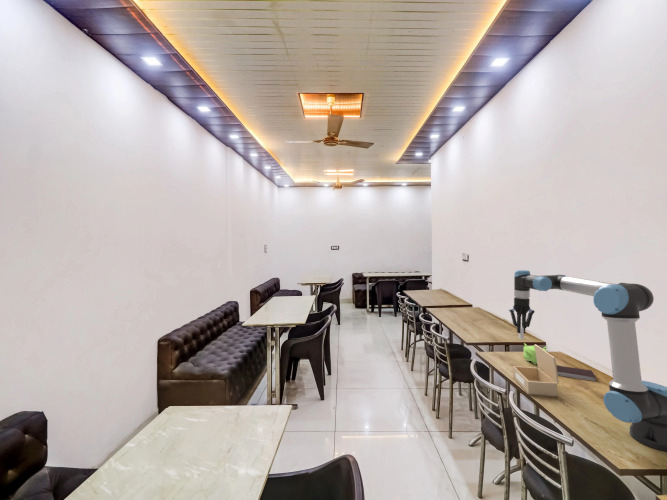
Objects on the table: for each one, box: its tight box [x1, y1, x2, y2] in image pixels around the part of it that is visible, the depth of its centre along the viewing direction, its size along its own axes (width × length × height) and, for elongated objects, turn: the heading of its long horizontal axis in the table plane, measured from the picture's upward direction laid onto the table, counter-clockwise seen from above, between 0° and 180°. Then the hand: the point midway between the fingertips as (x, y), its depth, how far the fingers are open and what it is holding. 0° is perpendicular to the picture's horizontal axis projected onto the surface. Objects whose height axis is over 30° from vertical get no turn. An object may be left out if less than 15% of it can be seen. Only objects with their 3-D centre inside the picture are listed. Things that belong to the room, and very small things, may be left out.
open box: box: [512, 365, 558, 397], centre depth 181 cm, size 22×14×7 cm, turn 170°
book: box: [556, 364, 597, 382], centre depth 197 cm, size 12×19×3 cm, turn 62°
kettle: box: [523, 343, 549, 365], centre depth 218 cm, size 15×14×11 cm
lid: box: [533, 343, 560, 384], centre depth 180 cm, size 23×13×1 cm
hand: (521, 338), depth 180 cm, fingers closed
